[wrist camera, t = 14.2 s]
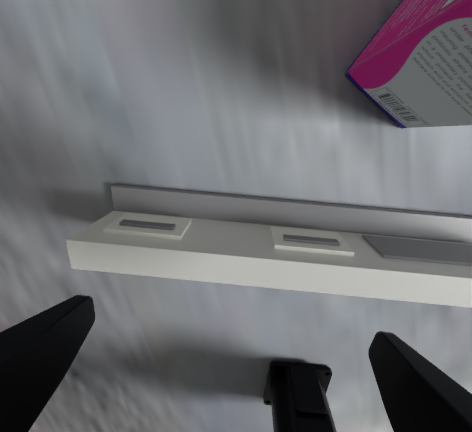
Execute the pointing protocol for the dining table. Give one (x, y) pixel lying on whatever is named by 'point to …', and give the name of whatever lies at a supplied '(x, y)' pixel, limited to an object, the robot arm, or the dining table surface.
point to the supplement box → (420, 64)
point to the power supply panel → (281, 245)
